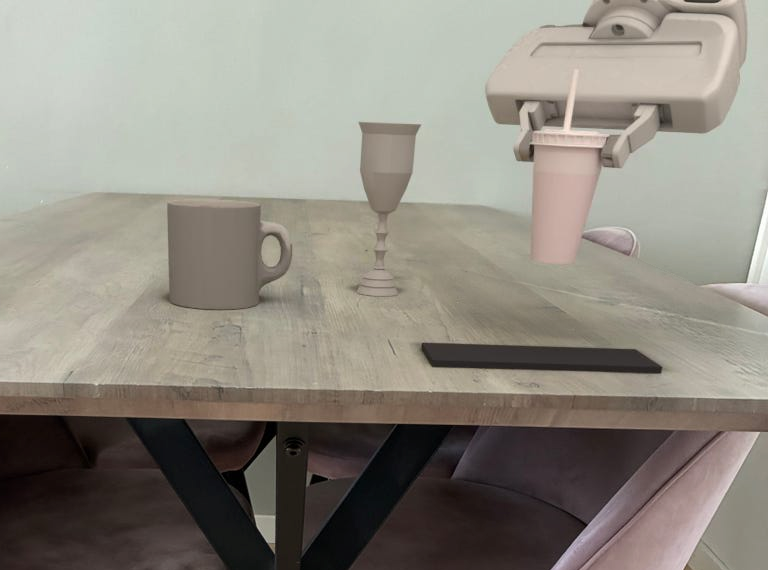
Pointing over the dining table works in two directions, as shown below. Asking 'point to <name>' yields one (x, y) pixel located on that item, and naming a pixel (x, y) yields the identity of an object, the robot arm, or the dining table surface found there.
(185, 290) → the coffee mug
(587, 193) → the smoothie
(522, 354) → the edge strip
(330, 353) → the dining table surface
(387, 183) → the chalice
